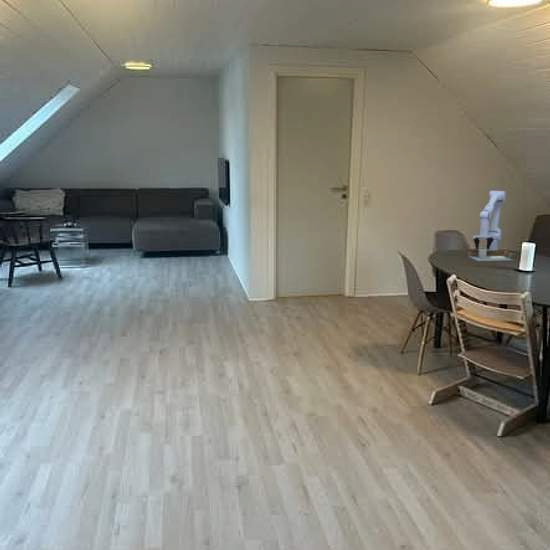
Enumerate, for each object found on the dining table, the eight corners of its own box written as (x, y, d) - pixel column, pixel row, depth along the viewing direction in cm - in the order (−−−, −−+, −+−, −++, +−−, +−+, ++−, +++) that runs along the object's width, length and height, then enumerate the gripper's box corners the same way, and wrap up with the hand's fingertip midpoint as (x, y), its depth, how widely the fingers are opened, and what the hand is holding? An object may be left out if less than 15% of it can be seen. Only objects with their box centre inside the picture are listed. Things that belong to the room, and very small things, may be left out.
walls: (467, 256, 385) (467, 250, 384) (503, 255, 388) (503, 250, 387) (477, 261, 370) (478, 255, 369) (515, 260, 372) (516, 254, 372)
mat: (467, 256, 385) (467, 255, 385) (503, 255, 388) (503, 255, 388) (477, 261, 370) (477, 260, 370) (515, 260, 372) (515, 259, 372)
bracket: (477, 257, 380) (478, 248, 378) (484, 257, 380) (485, 248, 379) (484, 260, 370) (485, 251, 369) (491, 260, 371) (492, 251, 369)
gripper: (476, 230, 370) (474, 250, 373) (497, 229, 371) (495, 250, 375) (471, 228, 377) (470, 248, 380) (492, 228, 378) (490, 248, 381)
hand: (482, 249), depth 378 cm, fingers open, 7 cm apart
